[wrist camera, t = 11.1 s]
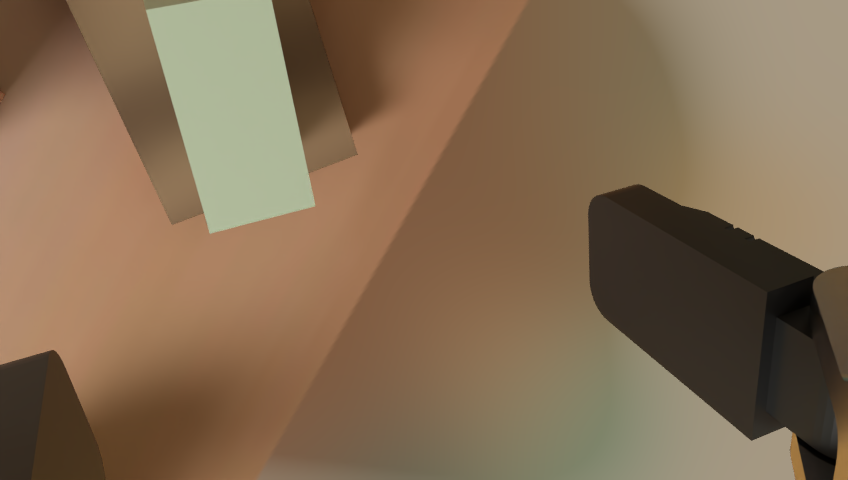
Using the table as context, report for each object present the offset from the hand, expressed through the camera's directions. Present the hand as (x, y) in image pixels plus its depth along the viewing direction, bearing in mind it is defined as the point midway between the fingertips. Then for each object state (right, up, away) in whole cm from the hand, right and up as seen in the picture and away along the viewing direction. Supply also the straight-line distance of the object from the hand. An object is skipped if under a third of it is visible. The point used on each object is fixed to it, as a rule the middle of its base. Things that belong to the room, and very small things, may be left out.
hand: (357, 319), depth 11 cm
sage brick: (-7, +7, +17) cm, 20 cm away
